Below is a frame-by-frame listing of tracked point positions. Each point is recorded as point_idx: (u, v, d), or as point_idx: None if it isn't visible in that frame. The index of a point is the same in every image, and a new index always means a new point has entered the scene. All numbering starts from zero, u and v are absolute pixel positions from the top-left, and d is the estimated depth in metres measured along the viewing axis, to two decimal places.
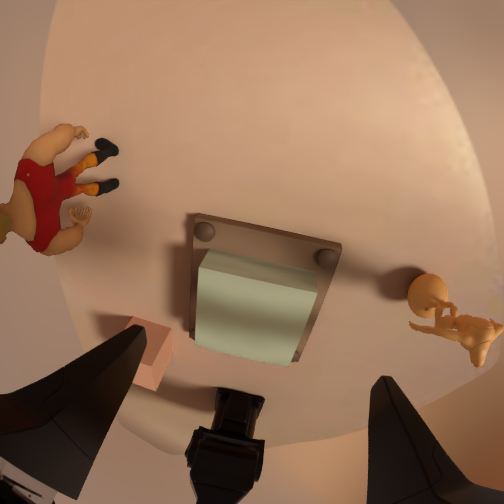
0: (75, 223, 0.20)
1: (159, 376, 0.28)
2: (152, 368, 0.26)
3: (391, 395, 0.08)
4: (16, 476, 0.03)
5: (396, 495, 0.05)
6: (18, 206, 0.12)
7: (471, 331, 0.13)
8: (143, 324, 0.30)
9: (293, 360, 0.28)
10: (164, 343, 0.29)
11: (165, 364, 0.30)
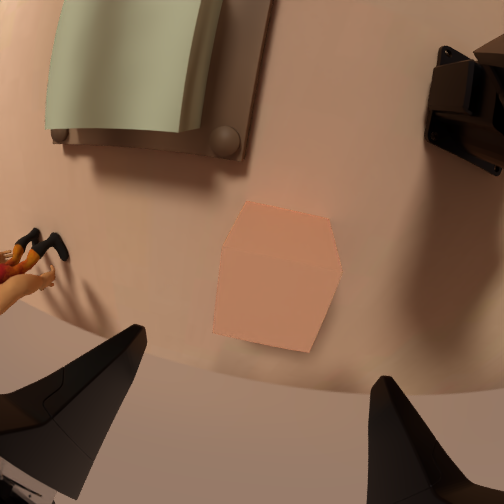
0: None
1: (313, 249, 0.12)
2: (233, 247, 0.11)
3: (391, 395, 0.08)
4: (16, 476, 0.03)
5: (396, 495, 0.05)
6: None
7: None
8: None
9: None
10: (245, 215, 0.15)
11: (313, 231, 0.14)
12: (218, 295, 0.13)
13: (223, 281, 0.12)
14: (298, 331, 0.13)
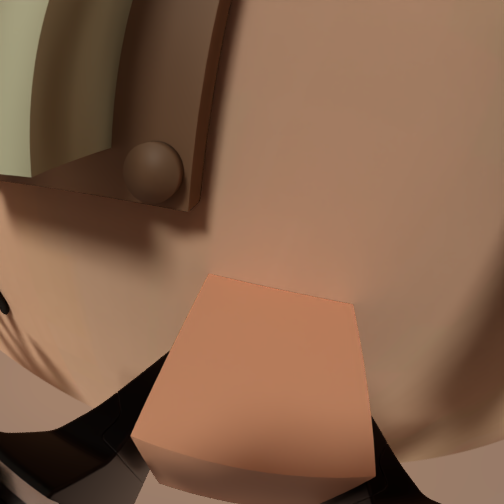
0: None
1: (325, 418, 0.05)
2: (152, 440, 0.04)
3: None
4: None
5: (342, 500, 0.05)
6: None
7: None
8: None
9: None
10: (197, 320, 0.07)
11: (327, 355, 0.07)
12: (151, 467, 0.05)
13: (152, 462, 0.05)
14: (287, 503, 0.06)
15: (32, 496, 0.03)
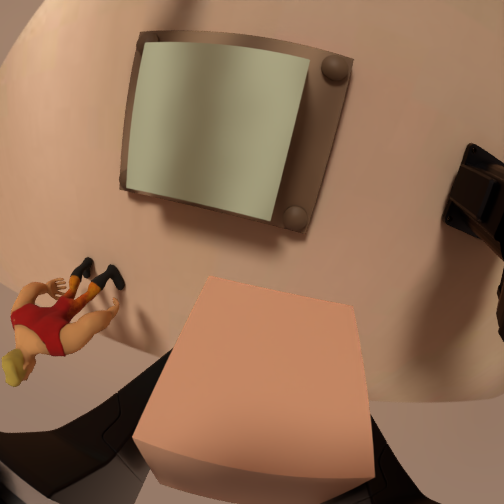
0: None
1: (324, 419, 0.05)
2: (154, 441, 0.04)
3: None
4: None
5: (342, 500, 0.05)
6: (18, 337, 0.14)
7: None
8: None
9: (343, 63, 0.13)
10: (198, 322, 0.07)
11: (327, 356, 0.07)
12: (152, 468, 0.05)
13: (153, 463, 0.05)
14: None
15: (32, 496, 0.03)
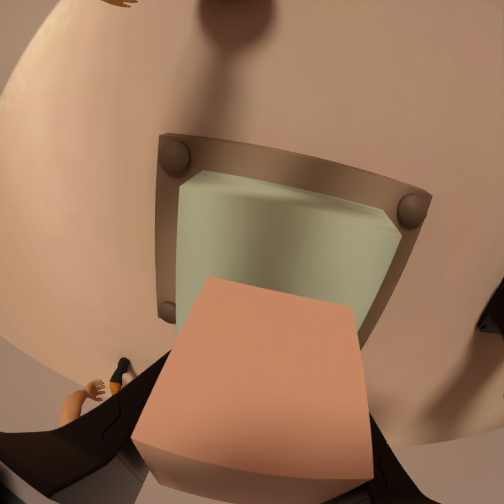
0: None
1: (323, 420, 0.05)
2: (152, 442, 0.04)
3: None
4: None
5: (342, 500, 0.05)
6: None
7: None
8: None
9: (422, 206, 0.12)
10: (197, 323, 0.07)
11: (326, 357, 0.07)
12: (151, 468, 0.05)
13: (152, 463, 0.05)
14: None
15: (32, 496, 0.03)
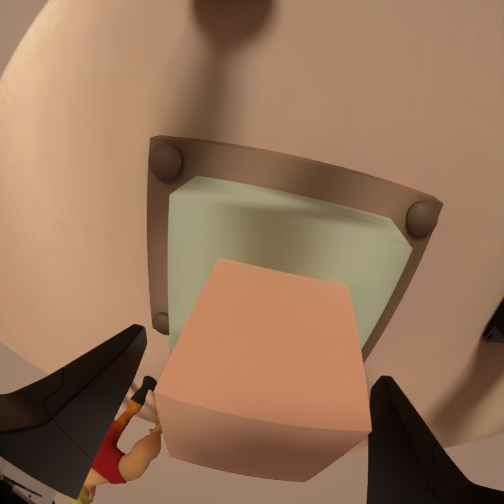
0: None
1: (324, 378, 0.06)
2: (173, 394, 0.05)
3: (391, 395, 0.08)
4: (16, 476, 0.03)
5: (396, 495, 0.05)
6: None
7: None
8: None
9: (433, 215, 0.11)
10: (210, 295, 0.09)
11: (326, 326, 0.08)
12: (166, 433, 0.07)
13: (168, 425, 0.06)
14: (291, 471, 0.07)
15: None
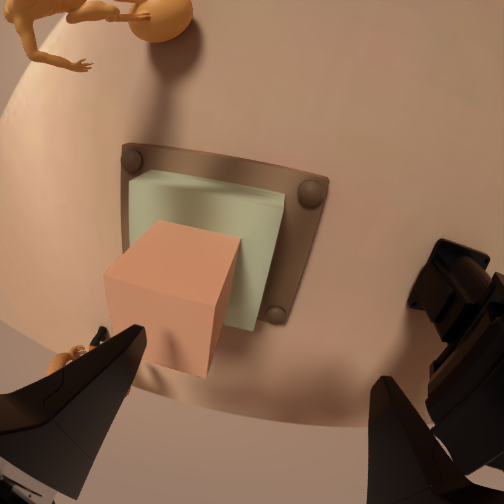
0: None
1: (196, 277, 0.12)
2: (112, 276, 0.11)
3: (391, 395, 0.08)
4: (16, 476, 0.03)
5: (396, 495, 0.05)
6: None
7: None
8: None
9: (318, 190, 0.16)
10: (146, 237, 0.14)
11: (210, 255, 0.14)
12: (111, 317, 0.12)
13: (112, 306, 0.12)
14: (189, 357, 0.12)
15: None
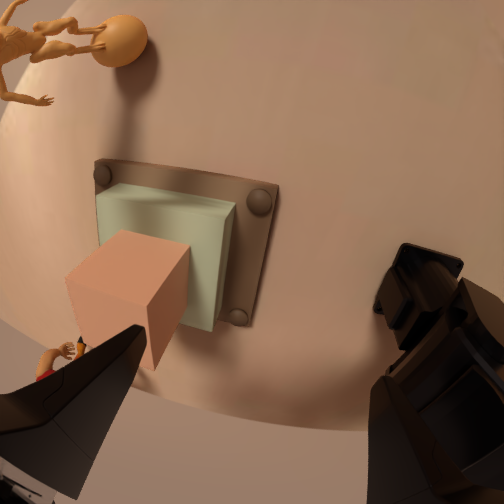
0: None
1: (138, 281, 0.13)
2: (71, 279, 0.12)
3: (391, 395, 0.08)
4: (16, 476, 0.03)
5: (396, 495, 0.05)
6: None
7: None
8: None
9: (266, 198, 0.18)
10: (106, 245, 0.15)
11: (156, 261, 0.15)
12: (75, 314, 0.13)
13: (74, 304, 0.13)
14: None
15: None
